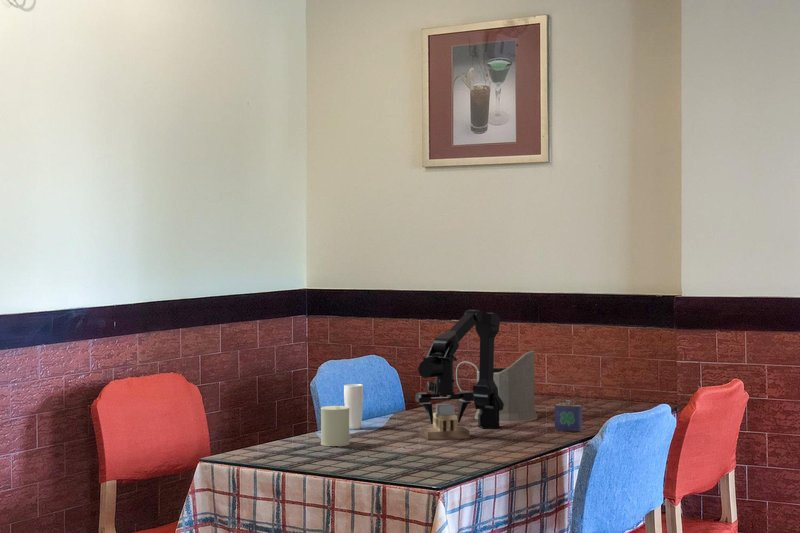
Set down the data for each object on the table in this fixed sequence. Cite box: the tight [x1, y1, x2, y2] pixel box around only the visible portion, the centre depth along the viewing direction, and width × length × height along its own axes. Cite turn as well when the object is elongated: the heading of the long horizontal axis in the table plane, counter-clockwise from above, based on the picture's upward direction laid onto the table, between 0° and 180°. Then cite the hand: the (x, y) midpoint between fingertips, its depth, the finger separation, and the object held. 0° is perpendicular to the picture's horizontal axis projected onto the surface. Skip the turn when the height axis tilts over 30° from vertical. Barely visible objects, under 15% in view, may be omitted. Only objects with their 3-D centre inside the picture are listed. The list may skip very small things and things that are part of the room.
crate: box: [435, 403, 456, 415], centre depth 325 cm, size 5×5×3 cm
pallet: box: [432, 412, 458, 431], centre depth 325 cm, size 6×8×5 cm
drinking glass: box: [343, 383, 364, 430], centre depth 344 cm, size 7×7×15 cm
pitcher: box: [455, 350, 538, 423], centre depth 370 cm, size 23×32×25 cm
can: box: [320, 405, 351, 447], centre depth 313 cm, size 9×9×12 cm
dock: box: [420, 425, 471, 441], centre depth 325 cm, size 14×9×2 cm, turn 103°
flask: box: [554, 399, 583, 433], centre depth 334 cm, size 9×3×11 cm, turn 68°
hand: (445, 423), depth 325 cm, fingers open, 9 cm apart
